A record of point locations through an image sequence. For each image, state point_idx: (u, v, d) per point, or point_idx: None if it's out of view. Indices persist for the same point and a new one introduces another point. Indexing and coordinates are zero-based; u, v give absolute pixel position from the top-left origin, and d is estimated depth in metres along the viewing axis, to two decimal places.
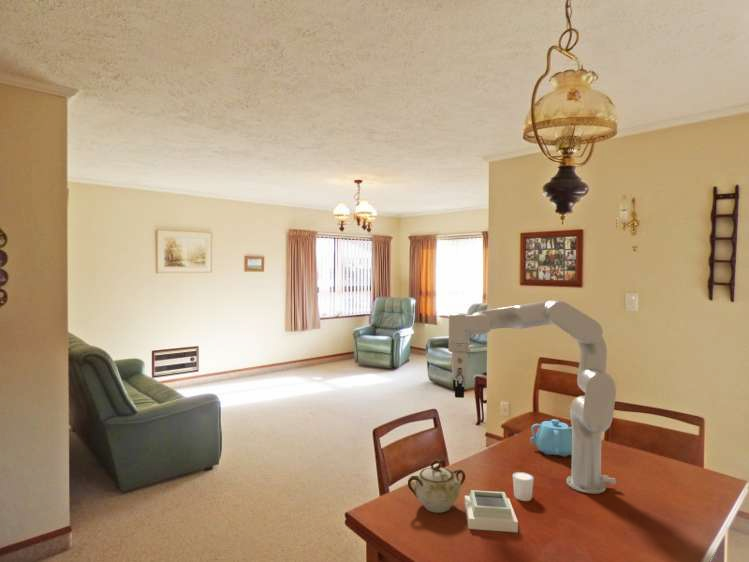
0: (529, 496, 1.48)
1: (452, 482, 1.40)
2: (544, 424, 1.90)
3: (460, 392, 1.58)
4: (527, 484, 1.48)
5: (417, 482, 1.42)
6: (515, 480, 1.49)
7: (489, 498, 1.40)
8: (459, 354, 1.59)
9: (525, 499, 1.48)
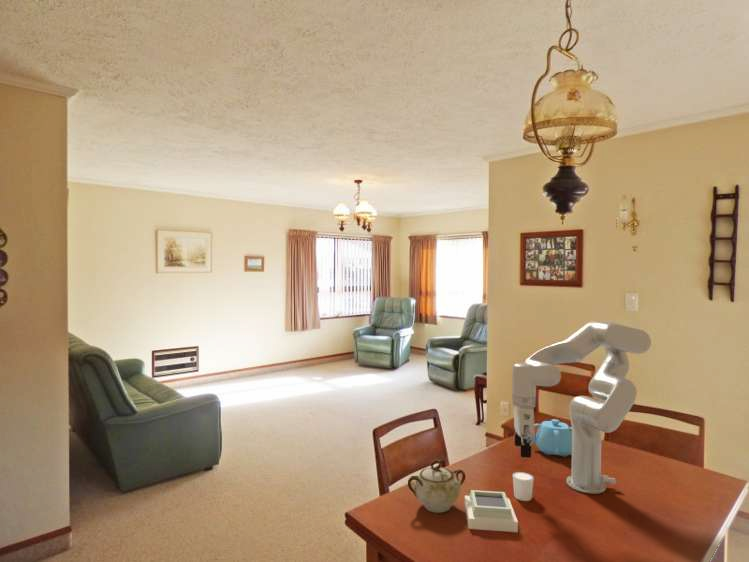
0: (529, 496, 1.48)
1: (452, 482, 1.40)
2: (544, 424, 1.90)
3: (527, 452, 1.45)
4: (527, 484, 1.48)
5: (417, 482, 1.42)
6: (515, 480, 1.49)
7: (489, 498, 1.40)
8: (526, 410, 1.46)
9: (525, 499, 1.48)
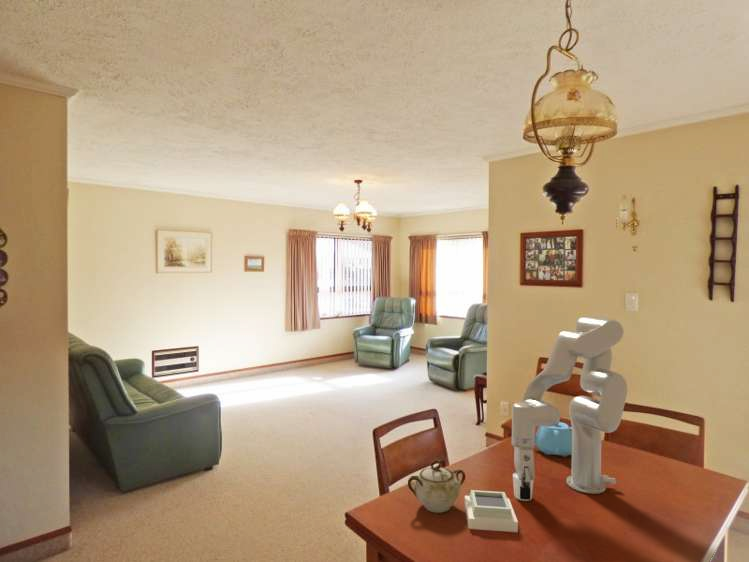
0: None
1: (452, 482, 1.40)
2: None
3: (526, 494, 1.46)
4: None
5: (417, 482, 1.42)
6: (515, 480, 1.49)
7: (489, 498, 1.40)
8: (525, 451, 1.46)
9: (525, 499, 1.48)
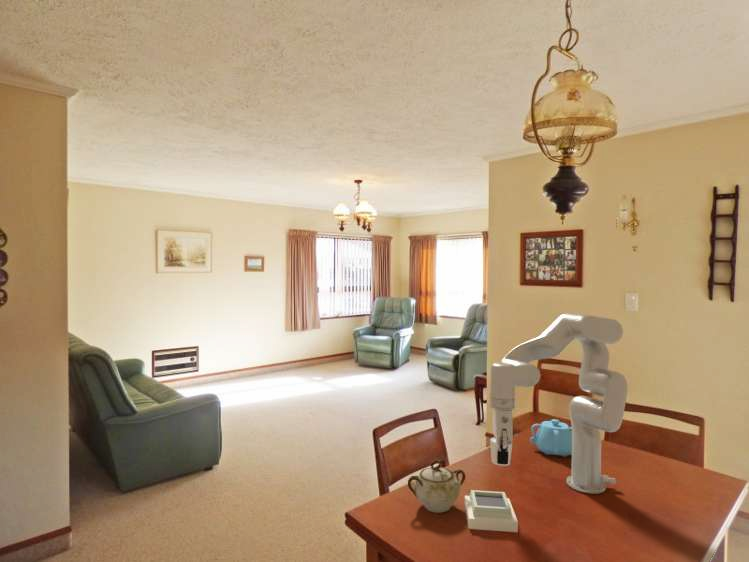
0: None
1: (452, 482, 1.40)
2: (544, 424, 1.90)
3: (504, 458, 1.37)
4: None
5: (417, 482, 1.42)
6: (492, 444, 1.40)
7: (489, 498, 1.40)
8: (504, 412, 1.37)
9: (503, 464, 1.39)
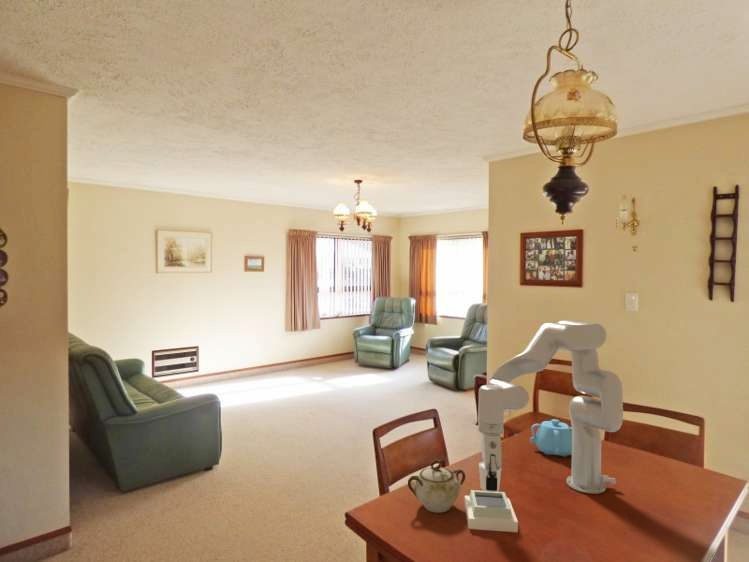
0: None
1: (452, 482, 1.40)
2: (544, 424, 1.90)
3: (493, 485, 1.33)
4: None
5: (417, 482, 1.42)
6: (481, 470, 1.36)
7: (489, 498, 1.40)
8: (492, 437, 1.33)
9: None
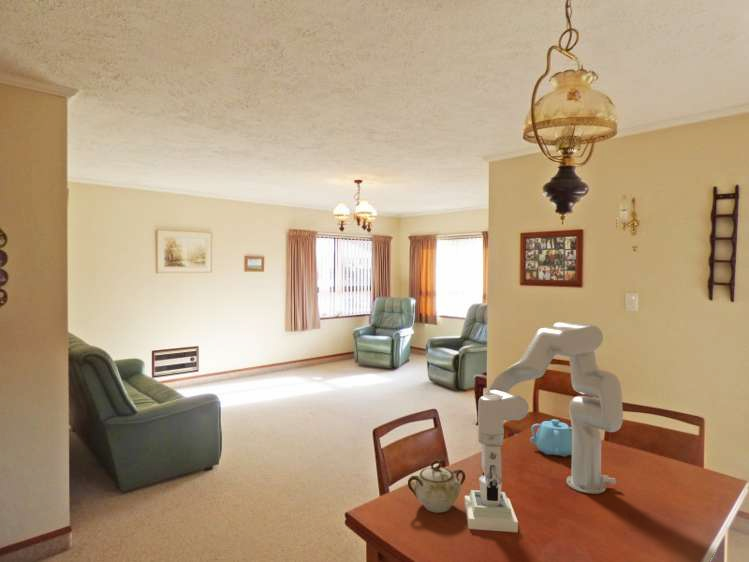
0: (496, 501, 1.35)
1: (452, 482, 1.40)
2: (544, 424, 1.90)
3: (493, 495, 1.32)
4: None
5: (417, 482, 1.42)
6: (481, 484, 1.36)
7: None
8: (492, 448, 1.33)
9: (492, 505, 1.35)
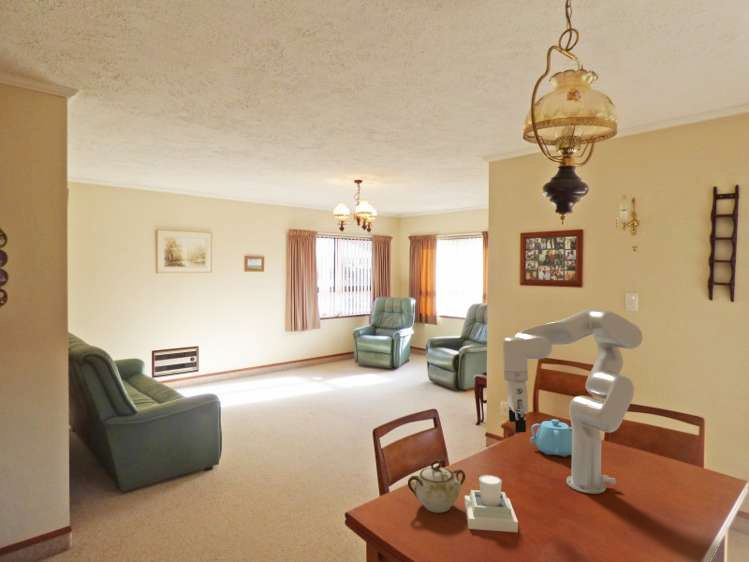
0: (496, 501, 1.35)
1: (452, 482, 1.40)
2: (544, 424, 1.90)
3: (522, 426, 1.42)
4: (494, 488, 1.34)
5: (417, 482, 1.42)
6: (481, 484, 1.36)
7: None
8: (518, 384, 1.43)
9: (492, 505, 1.35)
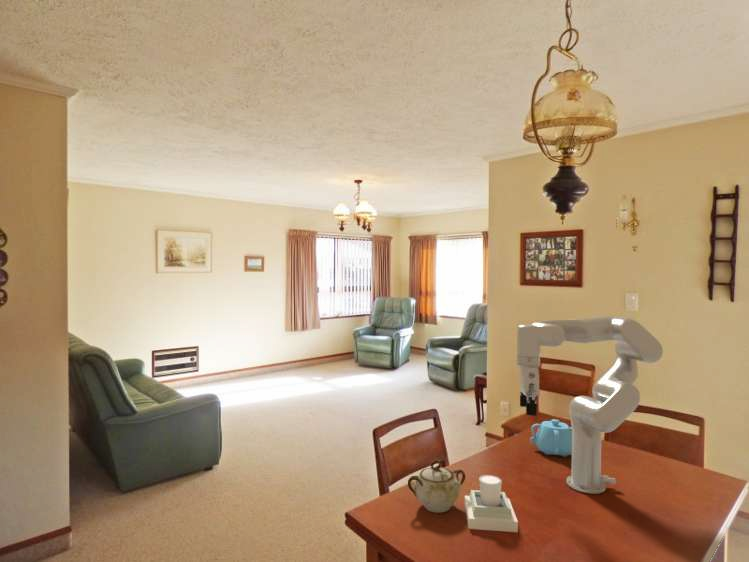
0: (496, 501, 1.35)
1: (452, 482, 1.40)
2: (544, 424, 1.90)
3: (532, 409, 1.48)
4: (494, 488, 1.34)
5: (417, 482, 1.42)
6: (481, 484, 1.36)
7: None
8: (531, 369, 1.49)
9: (492, 505, 1.35)
